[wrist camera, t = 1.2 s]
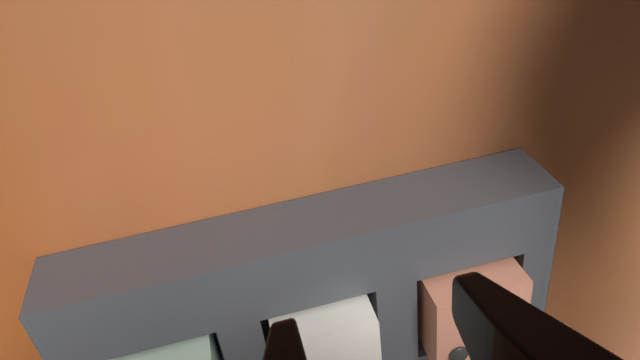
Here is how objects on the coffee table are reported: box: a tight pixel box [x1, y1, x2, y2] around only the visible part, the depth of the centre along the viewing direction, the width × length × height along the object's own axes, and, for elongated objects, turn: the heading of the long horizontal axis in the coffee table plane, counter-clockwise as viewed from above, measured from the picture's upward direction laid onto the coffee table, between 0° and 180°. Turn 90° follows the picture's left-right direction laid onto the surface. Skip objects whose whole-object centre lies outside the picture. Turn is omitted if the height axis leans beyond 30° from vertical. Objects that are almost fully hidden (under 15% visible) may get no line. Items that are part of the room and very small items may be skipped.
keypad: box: [19, 148, 565, 360], centre depth 23 cm, size 19×10×3 cm, turn 96°
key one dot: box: [268, 294, 382, 360], centre depth 22 cm, size 4×4×2 cm
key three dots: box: [417, 257, 533, 360], centre depth 23 cm, size 4×4×2 cm
